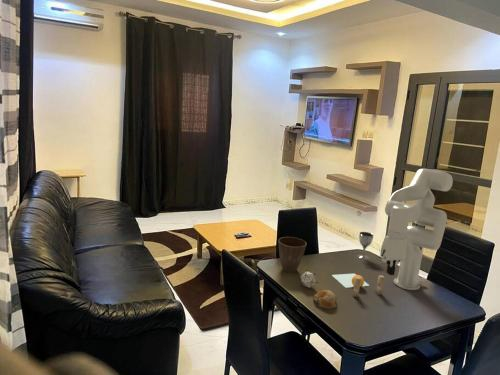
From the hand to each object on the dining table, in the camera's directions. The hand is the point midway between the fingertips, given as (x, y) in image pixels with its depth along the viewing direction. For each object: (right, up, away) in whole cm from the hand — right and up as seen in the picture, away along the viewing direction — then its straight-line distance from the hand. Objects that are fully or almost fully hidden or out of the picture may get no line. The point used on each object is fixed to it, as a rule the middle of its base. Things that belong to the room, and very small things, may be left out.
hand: (390, 273), depth 163 cm
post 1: (-11, -14, +14) cm, 22 cm away
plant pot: (-40, -7, +37) cm, 55 cm away
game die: (-33, -11, +19) cm, 40 cm away
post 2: (+1, -14, +18) cm, 22 cm away
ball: (-8, -9, +23) cm, 26 cm away
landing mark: (-10, -10, +30) cm, 33 cm away
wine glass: (+7, -5, +63) cm, 63 cm away
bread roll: (-28, -15, +5) cm, 32 cm away
